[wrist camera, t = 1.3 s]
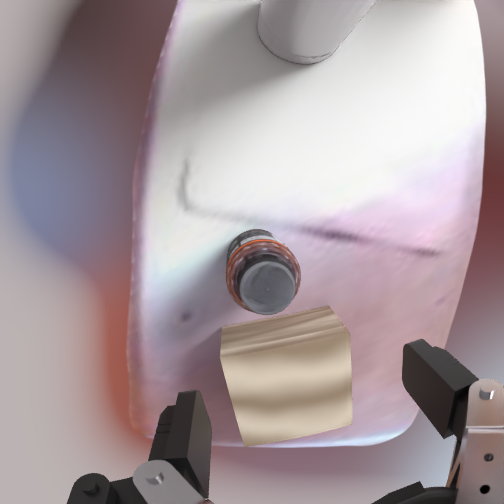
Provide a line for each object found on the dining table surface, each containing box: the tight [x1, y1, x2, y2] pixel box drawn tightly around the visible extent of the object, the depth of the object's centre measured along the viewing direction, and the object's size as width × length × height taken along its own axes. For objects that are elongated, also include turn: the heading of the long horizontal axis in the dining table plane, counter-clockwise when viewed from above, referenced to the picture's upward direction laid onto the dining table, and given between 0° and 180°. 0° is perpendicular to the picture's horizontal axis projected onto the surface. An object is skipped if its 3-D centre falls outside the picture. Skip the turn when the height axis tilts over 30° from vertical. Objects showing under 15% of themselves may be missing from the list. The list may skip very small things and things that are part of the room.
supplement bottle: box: [226, 229, 301, 315], centre depth 28 cm, size 6×6×11 cm
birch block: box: [220, 306, 352, 447], centre depth 33 cm, size 12×12×7 cm
